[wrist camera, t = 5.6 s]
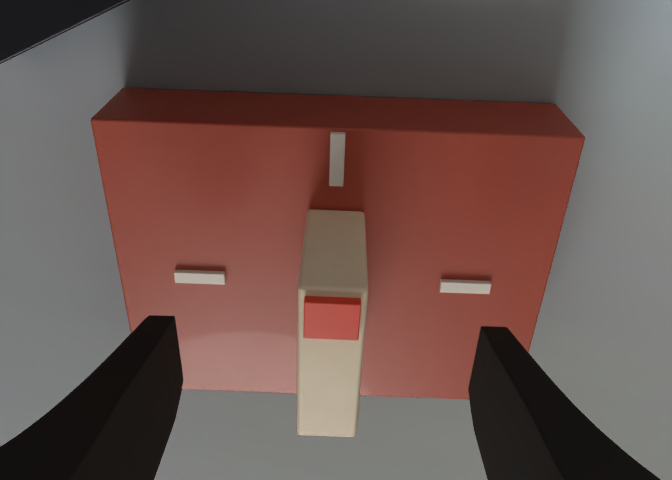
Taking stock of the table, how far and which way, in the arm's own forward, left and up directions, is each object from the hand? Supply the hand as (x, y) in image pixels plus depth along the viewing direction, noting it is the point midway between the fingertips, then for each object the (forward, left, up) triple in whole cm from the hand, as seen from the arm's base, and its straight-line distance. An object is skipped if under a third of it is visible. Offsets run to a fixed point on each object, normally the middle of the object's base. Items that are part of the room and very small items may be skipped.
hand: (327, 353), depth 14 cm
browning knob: (0, 0, -3) cm, 3 cm away
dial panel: (0, 0, -6) cm, 6 cm away
